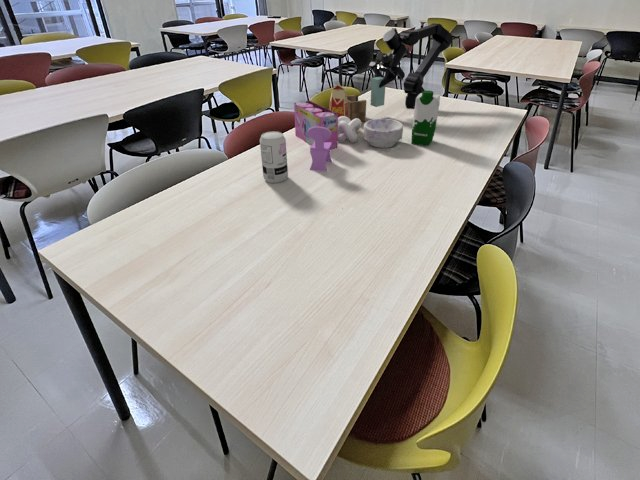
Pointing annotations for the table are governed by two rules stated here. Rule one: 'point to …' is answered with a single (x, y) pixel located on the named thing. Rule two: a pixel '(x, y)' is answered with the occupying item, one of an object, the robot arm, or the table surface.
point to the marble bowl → (383, 132)
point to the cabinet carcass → (356, 108)
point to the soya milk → (425, 118)
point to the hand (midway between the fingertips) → (376, 86)
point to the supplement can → (274, 157)
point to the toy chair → (320, 147)
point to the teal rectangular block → (377, 92)
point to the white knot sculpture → (348, 129)
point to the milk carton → (339, 101)
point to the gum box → (315, 121)
